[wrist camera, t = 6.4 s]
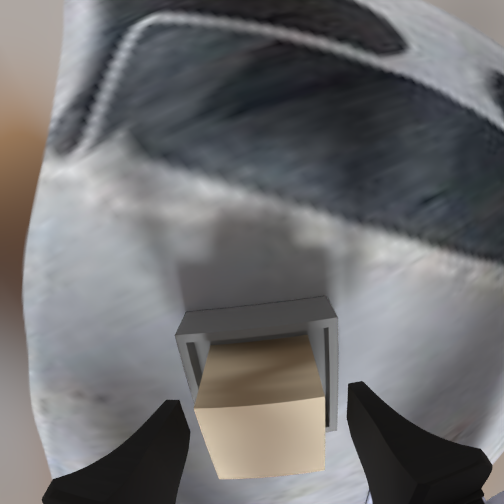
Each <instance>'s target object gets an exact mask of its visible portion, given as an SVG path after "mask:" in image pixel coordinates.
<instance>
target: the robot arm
mask: <svg viewBox="0 0 504 504" xmlns="http://www.w3.org/2000/svg"><path fill="white" fill-rule="evenodd" d="M347 421H348V425H349V429H350V434H351V437H352V440H353V443H354V445H355V448H356V451H357V453H358V456H359V459H360V461H361V464H362V466H363V469H364V472H365V475H366V478H367V481H368V485H369V489H370V492H369V496H368V499H367V503H366V504H504V491H502V492H500V493H499V494H497V495H495V496H493V497H492V498H490V499H489V500H488V501H486V500H485V498H484V493H483V491H482V489H481V488H482V486H483V485H484V483H485V482H486V480H487V479H488V477H489V475H490V473H491V471H492V464H491V462H490V461H489V459H488V458H487V456H486V455H485V453H484V452H483V451H482V450H481V449H479V448H474V447H469V446H465V445H461V444H457V443H454V442H451V441H448V440H445V439H443V438H440V437H438V436H436V435H433V434H431V433H429V432H427V431H425V430H423V429H421V428H419V427H418V426H416V425H414V424H413V423H411V422H410V421H408V420H407V419H405V418H404V417H402V416H401V415H400V414H398V413H397V412H396V411H395V410H393V409H392V408H391V407H390V406H389V405H387V404H386V403H385V402H384V401H383V400H382V399H381V398H379V397H378V396H377V395H376V394H375V393H374V392H373V391H372V390H371V389H370V388H369V387H368V386H367V385H366V384H365V383H364V382H363V381H360V382H355V383H349V384H348V402H347ZM189 440H190V429H189V427H188V424H187V421H186V418H185V415H184V412H183V410H182V407H181V404H180V401H179V400H166V401H165V402H164V403H163V404H162V405H161V406H160V407H159V408H158V409H157V410H156V412H155V413H154V414H153V415H152V416H151V417H150V418H149V419H148V420H147V421H146V422H145V423H144V424H143V425H142V426H141V427H140V428H139V429H138V430H137V431H136V432H135V433H134V434H133V435H132V436H131V437H130V438H129V439H128V440H126V441H125V442H124V443H123V444H122V445H120V446H119V447H118V448H116V449H115V450H114V451H112V452H111V453H109V454H108V455H106V456H105V457H103V458H101V459H100V460H98V461H96V462H95V463H93V464H91V465H89V466H87V467H85V468H83V469H80V470H78V471H76V472H73V473H71V474H68V475H65V476H62V477H59V478H55V479H53V480H52V482H51V484H50V485H49V487H48V489H47V491H46V492H45V494H44V496H43V498H42V502H43V504H175V503H176V496H177V491H178V487H179V483H180V480H181V476H182V472H183V469H184V465H185V461H186V457H187V454H188V448H189Z"/></svg>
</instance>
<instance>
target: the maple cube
mask: <svg viewBox="0 0 504 504" xmlns="http://www.w3.org/2000/svg"><path fill="white" fill-rule="evenodd" d="M194 411H195V414H196V417H197V420H198V423H199V426H200V429H201V432H202V435H203V437H204V440H205V443H206V446H207V449H208V451H209V454H210V457H211V459H212V462H213V465H214V467H215V470H216V472H217V475H218V477H219V479H247V478H264V477H276V476H286V475H295V474H303V473H310V472H317V471H323V470H325V395H324V391H323V387H322V384H321V380H320V377H319V373H318V369H317V366H316V362H315V359H314V355H313V351H312V348H311V344H310V341H309V337H308V335H302V336H294V337H287V338H279V339H271V340H262V341H253V342H244V343H233V344H222V345H211V346H210V349H209V352H208V356H207V360H206V364H205V367H204V371H203V375H202V379H201V383H200V386H199V390H198V394H197V398H196V402H195V405H194Z"/></svg>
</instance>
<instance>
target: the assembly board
mask: <svg viewBox="0 0 504 504" xmlns="http://www.w3.org/2000/svg"><path fill="white" fill-rule="evenodd" d="M302 335H308V337H309V341H310V344H311V348H312V351H313V355H314V359H315V362H316V366H317V369H318V373H319V377H320V380H321V384H322V387H323V391H324V395H325V432H331V431H337V416H338V317H337V315H336V313H335V311H334V309H333V307H332V306H331V304H330V302H329V300H328V298H327V296H322V297H315V298H307V299H300V300H292V301H284V302H276V303H268V304H259V305H251V306H241V307H232V308H222V309H212V310H202V311H191V312H186V313H185V315H184V317H183V320H182V322H181V324H180V326H179V328H178V330H177V332H176V334H175V338H176V342H177V345H178V349H179V353H180V356H181V360H182V364H183V367H184V371H185V374H186V378H187V381H188V384H189V388H190V391H191V394H192V398H193V401H194V404H195V402H196V398H197V394H198V390H199V386H200V383H201V379H202V375H203V371H204V367H205V364H206V360H207V356H208V352H209V349H210V346H211V345H222V344H233V343H244V342H253V341H262V340H271V339H279V338H287V337H294V336H302Z"/></svg>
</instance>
